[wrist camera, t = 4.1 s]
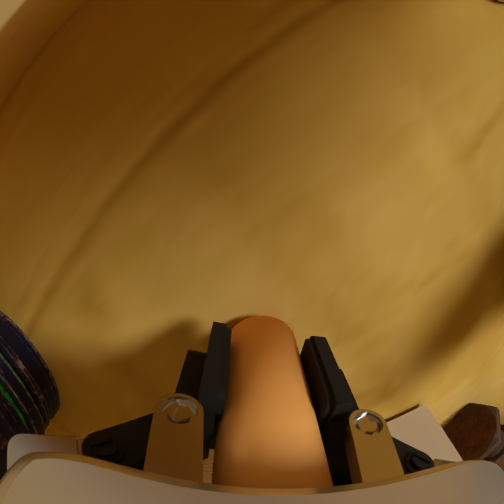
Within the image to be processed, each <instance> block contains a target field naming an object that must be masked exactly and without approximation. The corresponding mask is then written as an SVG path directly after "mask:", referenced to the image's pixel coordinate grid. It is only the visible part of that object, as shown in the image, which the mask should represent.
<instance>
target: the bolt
mask: <svg viewBox="0 0 504 504" xmlns="http://www.w3.org/2000/svg"><path fill="white" fill-rule="evenodd" d="M443 430H444V432H445V433H446V435H447V436H448V438H449V439H450V441H451V443H452V444H453V446H454V447H455V449H456V450H457V452H458V453H459V455H460V457H461V458H462V460H463V461H467V460H484V461H489V462H493V463H495V464H497V463H498V462H499V461H500V460H501V459H502V458H503V457H504V425H502V424H500V414H499V409H498V408H497V407H493V406H488V405H482V404H475V403H470V404H468V405H467V406H466V407H465V408H463V409H462V410H461V411H460V412H459V413H458V414H457V415H456V416H455V417H454V418H453V419H452V420H451V421H450V422H449V423H448V424H447V425H446V427H445V428H444V429H443Z"/></svg>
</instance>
